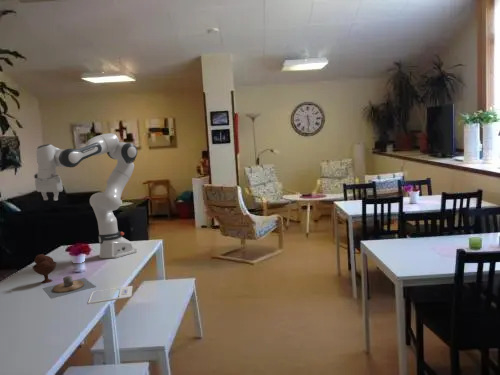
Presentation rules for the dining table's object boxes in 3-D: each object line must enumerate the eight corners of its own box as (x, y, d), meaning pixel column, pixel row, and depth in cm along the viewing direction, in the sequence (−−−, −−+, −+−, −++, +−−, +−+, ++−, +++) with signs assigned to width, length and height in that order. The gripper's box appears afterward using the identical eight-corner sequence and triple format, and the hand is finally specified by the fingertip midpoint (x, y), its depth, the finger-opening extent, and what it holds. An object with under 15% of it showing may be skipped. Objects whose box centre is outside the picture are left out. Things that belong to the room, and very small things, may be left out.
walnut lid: (79, 280, 220) (78, 270, 219) (87, 286, 209) (86, 276, 208) (50, 287, 212) (48, 277, 211) (56, 295, 200) (55, 284, 200)
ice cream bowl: (49, 285, 217) (45, 256, 215) (30, 286, 219) (26, 257, 217) (63, 278, 227) (59, 250, 225) (44, 279, 229) (40, 251, 227)
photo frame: (131, 295, 191) (87, 302, 187) (131, 298, 191) (88, 304, 187) (132, 285, 205) (92, 291, 201) (132, 287, 205) (92, 293, 201)
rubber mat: (84, 278, 224) (84, 277, 224) (96, 287, 208) (96, 286, 208) (42, 289, 213) (42, 288, 212) (51, 299, 196) (51, 298, 196)
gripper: (64, 173, 231) (67, 199, 232) (43, 174, 242) (46, 199, 244) (53, 175, 225) (56, 201, 227) (32, 175, 237) (35, 200, 239)
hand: (50, 200), depth 235 cm, fingers open, 8 cm apart
